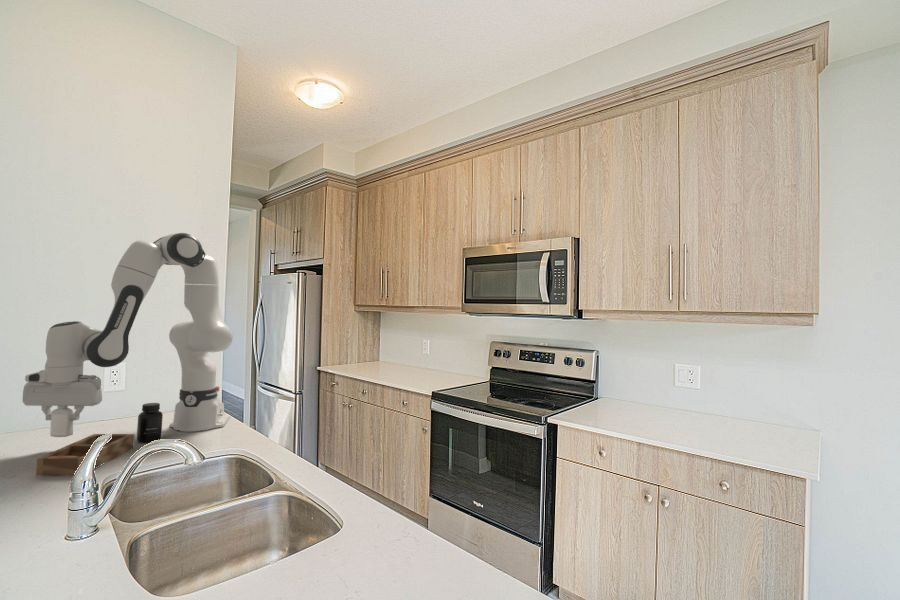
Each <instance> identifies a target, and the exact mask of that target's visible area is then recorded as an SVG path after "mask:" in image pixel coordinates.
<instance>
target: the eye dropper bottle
mask: <svg viewBox="0 0 900 600" xmlns="http://www.w3.org/2000/svg"><path fill="white" fill-rule="evenodd" d="M56 407H57V408H55V409H53V410H51V411H52V412H51V420H50V430H49V431H50V433H49V435H50V437H53V438H67V437H70V436H73V435H74V420H70V418H71V417H70V415H72V414H74V413H75V411H74V410H73V409H71V408H69V406H56Z"/></svg>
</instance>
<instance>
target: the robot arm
mask: <svg viewBox="0 0 900 600" xmlns="http://www.w3.org/2000/svg"><path fill="white" fill-rule="evenodd" d="M164 265H165V266H166V265H169V266H180V267H181V268H182V270H183V272H184V293H183V294H184V297H183V298H184V299H183V303H184V307H185V308H186V309H187V311H189V313H190V315H191V318H192V320H187V321H182V322H178V323H176V324H175V325H173V326H172V327H171V329H170V330H169V335H168V338H169V342H170V343H171V345H173V347H174V348H175V350H176V352H177V355H178V358H179V362H180V366H181V384H180V385H181V388H180V389H179V394H178V396H179V397H178V399H179V401H178V402H177V403H176V404H175V406H174V414H173V422H171V423H169V427H170V428H172V427H173V429H174V430H175V431H177V430H180V431H179V432H200V431H201V430H202V431H208V430H211V429H218V428H224V426H225V425H226V424H227V422H228V421H229V420H230V418H231V415H230V414H228V413H225V404H224V402H222V401H221V400H220V398H218V392H220V388H221V387H220V386H218V385H217V386H216V382H217V381H216V380H217V379H216V378H217V366H216V364H214V362H213V361H212V360H211V357H210V355H209V353H219V352H223V351H225V350H227V349H229V347H230V346H231V345H232V342H233V337H234V336H233V332H232V330H231V328H229V326H228V325H227V324H226V322H225V321H224V319H223V316H222V312H221V309H220V302H219V280H220V279H219V269H218V265H217V262H216V259H215V258H214V257H212V256H210V255H208V254H206V251H204V249H203V247H202V243H201V241H199V239H198V238H197V237H195V235H192V234H190V233H186V232H179V233H171V234H168V235H166V236H165V235H164V236H162V237H160V238H158V239H157V240H155V241H153V242H151V241H149V240H136V241H134V242H132V243H131V244H130V245H129V247H128V248H127V249H126V251H125V252H124V253H123V255H122V257H121V258H120V260H119V262H118V263H117V265H116V267H115V270H114V272H113V275H112V280H111V285H110V286H111V290H112V292H113V294H114V304H113V308H112V310H111V312H110V314H109V317H108V319H107V321H106V324H105V327H104V329H103V330H100V329H96V328H94V327H91V326H89V325H86V324H85V323H83V322H82V321H77V320H75V321H74V320H73V321H64V322H60V323H55V324H54V325H52V326H51V327H49V329H48V331H47V333H46V334H47V335H46V339H45V354H46V355H45V356H46V362H45V365H44V369H42V370H39V371H37V372H32V373H29V374H26V375H25V377H24V380H25V382H26V383H25V384H24V386H23V391H22V398H21V399H22V403H23V404H24V405H25V406H29V407H31V406H35V407H36V406H37V407H39V406H40V407H41V411H42V413H43V414H44V415H45V421H51V412H52V411H53V410H52V408H53V407H58V406H68V407H73V408H74V410H75V411H74V414H72V415H70V417H71V418H70V420H73V421H78V420H80V416H81V415H80V414H81V413H82V412H83V410H84V409H85V407H93V406H97V405H99V404H101V402H103V393H102V379H101V378H100V377H99V376H97V375H95V374H91V375H88V374H84V363H85V362H86V361H90V362H91V363H92V364H93V365H95V366H97V367H100V368H111V367H114V366H117V365H119V364H121V363H122V362H124V360H125V359H126V358H127V357H128V355H129V351H130V346H129V344H130V343H129V336H130V332H131V330H132V327H133V325H134V321H135V319H136V316H137V314H138V312H139V309H140V307H141V305H142V303H143V301H144V299H145V298H146V296H147V295H148V293H149V291H150V289H151V287H152V286H153V284H154V281H155V280H156V277H157V275H158V272H159V270H161V268H162V267H163V266H164ZM226 414H228V415H229V416H228V415H226Z"/></svg>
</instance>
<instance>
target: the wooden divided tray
mask: <svg viewBox="0 0 900 600" xmlns="http://www.w3.org/2000/svg"><path fill="white" fill-rule="evenodd" d="M105 434H106V433H93V434H91V435H89V436H87V437H84V438H82V439H78V440H77V441H75V442H73V443H70V444H66V445H65V446H63V447H61V448H57V449H56V450H54V451H51V452H49V453H46V454H44V455H42V456H40V457H38V458H36V469H35V470H36V472H35V476H36V475H71V476H73V475H74V473H75V471H76V470H77V468H78V467H79V465H80V464H81V462H82V461H83V459H84V457H85V456H86V453H87V452H88V450H89V449H90V447H91V445H92V444H93V442H94V441H95V440H96V439H97V438H98V437H100V436H102V435H105ZM111 434H112V439H111V440H110V441H109V442H108V443H106V444H105V445H104V446H103V448H102V450H101V451H100V453H99V456H98V457H97V460H96V465H95V470H97V469H96V467H98V466H100V465H101V464H103V463H106V462H108V461H109V462H111V461H113V460H115V459H117V458H118V457H120V456H122V455H124V454H125V453H128V452H130V451H131V450H133V449H134V440H135V434H134V433H111ZM110 460H111V461H110ZM109 462H108V463H109ZM106 464H107V463H106ZM100 467H101V466H100ZM98 468H99V467H98Z"/></svg>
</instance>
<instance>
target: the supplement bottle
mask: <svg viewBox="0 0 900 600" xmlns="http://www.w3.org/2000/svg"><path fill="white" fill-rule="evenodd" d="M160 406H161V404H160V403H159V402H147V403H144V404H142V408H141V411H142V412H140V413H139V414H138V416H137V425H136V427H137V428H136V442H137V443H139V444H148V443H149V442H150V443H152V442H151V441H154V440H158V439H160V440H161V438H162V433H163V432H162V429H163V418H164V417H163V416H164V415H163V412H162V411H160V409H161V408H160ZM158 441H159V440H158ZM150 443H149V444H150Z"/></svg>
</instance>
